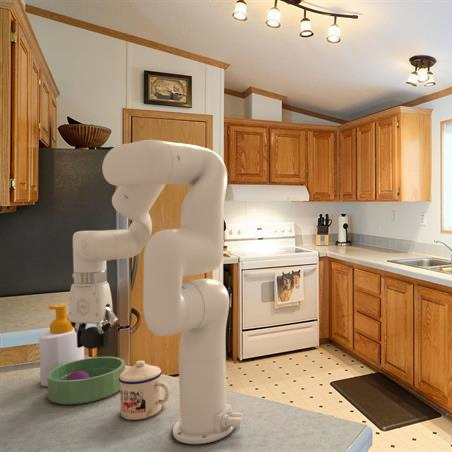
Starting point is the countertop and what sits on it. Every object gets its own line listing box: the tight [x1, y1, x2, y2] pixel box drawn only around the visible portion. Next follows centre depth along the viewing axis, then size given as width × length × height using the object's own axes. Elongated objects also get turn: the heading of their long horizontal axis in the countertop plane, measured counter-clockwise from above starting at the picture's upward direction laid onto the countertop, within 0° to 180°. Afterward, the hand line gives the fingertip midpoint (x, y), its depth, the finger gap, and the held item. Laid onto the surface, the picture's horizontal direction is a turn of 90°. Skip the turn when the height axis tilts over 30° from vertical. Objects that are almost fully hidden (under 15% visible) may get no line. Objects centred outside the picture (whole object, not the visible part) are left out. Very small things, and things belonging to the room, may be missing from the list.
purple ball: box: [66, 371, 90, 380], centre depth 108 cm, size 6×6×6 cm
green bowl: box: [46, 356, 126, 406], centre depth 111 cm, size 18×18×6 cm
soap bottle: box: [38, 304, 85, 387], centre depth 121 cm, size 13×8×20 cm, turn 169°
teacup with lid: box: [119, 360, 171, 421], centre depth 99 cm, size 12×9×12 cm
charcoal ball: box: [80, 326, 99, 350], centre depth 112 cm, size 6×6×6 cm
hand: (92, 346), depth 113 cm, fingers closed on charcoal ball, 5 cm apart
